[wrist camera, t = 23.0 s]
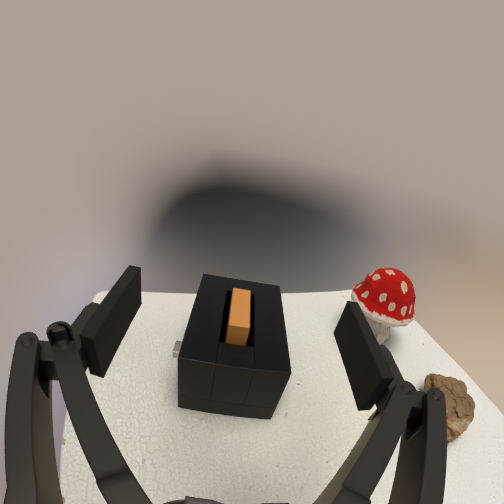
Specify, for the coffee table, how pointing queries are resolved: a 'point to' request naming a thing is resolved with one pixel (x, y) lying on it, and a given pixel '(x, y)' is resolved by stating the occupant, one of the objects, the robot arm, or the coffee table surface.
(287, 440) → the coffee table surface
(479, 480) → the coffee table surface
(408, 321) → the decorative mushroom
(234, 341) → the toast
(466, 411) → the rock
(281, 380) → the toaster
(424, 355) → the coffee table surface
